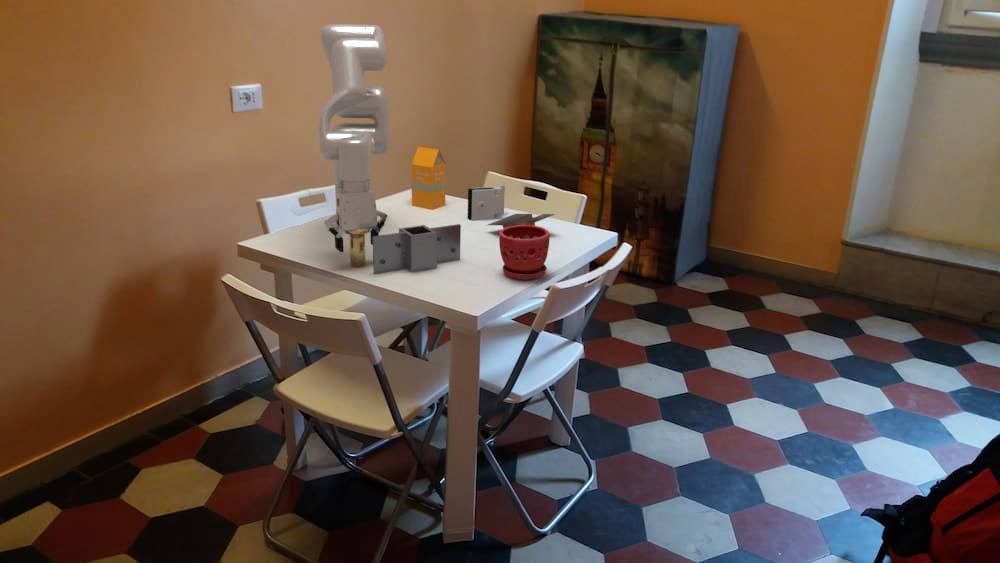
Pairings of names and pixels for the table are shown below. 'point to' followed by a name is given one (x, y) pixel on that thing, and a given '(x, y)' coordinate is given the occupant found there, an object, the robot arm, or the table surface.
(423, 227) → the grey socket bracket
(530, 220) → the grey winged shape
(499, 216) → the hinge
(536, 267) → the plant pot
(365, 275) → the table surface
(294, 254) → the table surface
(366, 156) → the robot arm
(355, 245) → the pin
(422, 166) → the orange juice
